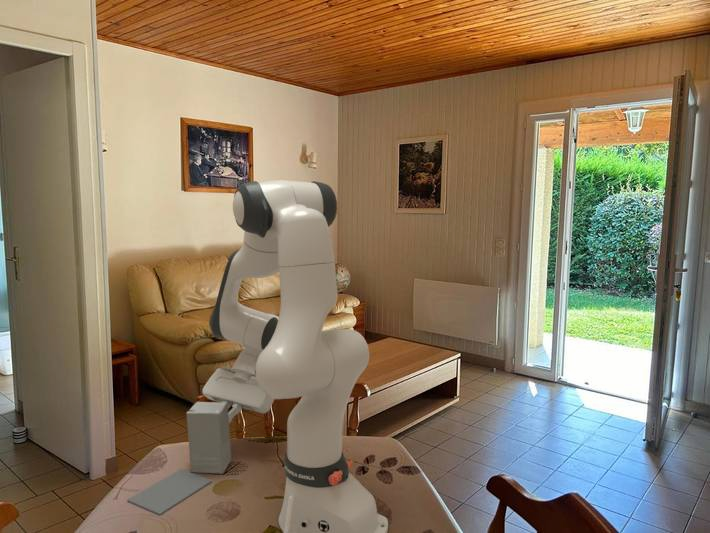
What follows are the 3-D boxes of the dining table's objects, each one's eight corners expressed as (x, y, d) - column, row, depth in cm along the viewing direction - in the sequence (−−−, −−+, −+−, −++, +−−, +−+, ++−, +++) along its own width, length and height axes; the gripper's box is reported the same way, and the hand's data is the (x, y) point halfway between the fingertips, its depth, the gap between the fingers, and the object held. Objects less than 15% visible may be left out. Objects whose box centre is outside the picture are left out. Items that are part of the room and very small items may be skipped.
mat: (212, 482, 121) (212, 480, 121) (159, 515, 108) (159, 513, 108) (181, 470, 126) (180, 468, 126) (127, 501, 113) (127, 499, 113)
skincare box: (231, 461, 131) (231, 401, 129) (221, 476, 124) (220, 412, 122) (198, 459, 132) (197, 399, 129) (187, 474, 124) (185, 410, 122)
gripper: (213, 359, 140) (186, 406, 133) (274, 372, 131) (249, 424, 123) (225, 370, 145) (199, 417, 138) (285, 384, 135) (261, 435, 128)
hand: (223, 420), depth 130 cm, fingers closed
